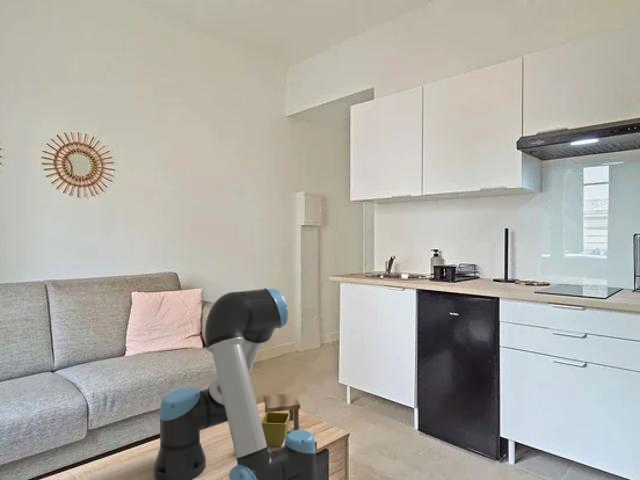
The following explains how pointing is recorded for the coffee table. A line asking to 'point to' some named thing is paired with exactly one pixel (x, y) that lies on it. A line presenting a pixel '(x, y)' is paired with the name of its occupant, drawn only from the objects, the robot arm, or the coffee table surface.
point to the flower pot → (275, 428)
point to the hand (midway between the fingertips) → (280, 438)
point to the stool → (284, 406)
